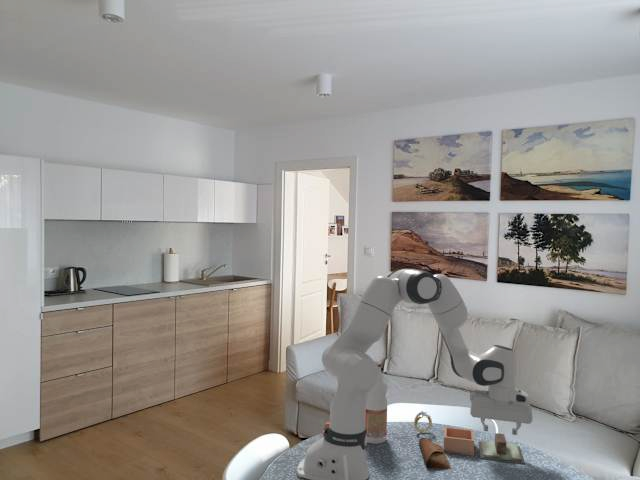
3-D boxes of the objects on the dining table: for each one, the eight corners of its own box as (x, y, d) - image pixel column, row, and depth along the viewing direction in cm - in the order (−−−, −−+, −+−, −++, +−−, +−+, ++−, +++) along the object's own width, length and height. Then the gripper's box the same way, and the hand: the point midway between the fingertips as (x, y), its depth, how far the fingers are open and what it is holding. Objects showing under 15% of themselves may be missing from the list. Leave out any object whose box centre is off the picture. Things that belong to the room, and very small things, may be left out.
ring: (415, 434, 186) (416, 413, 186) (412, 431, 190) (412, 410, 190) (433, 433, 188) (433, 412, 188) (429, 430, 191) (430, 409, 191)
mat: (480, 458, 167) (480, 457, 167) (478, 442, 181) (478, 441, 181) (525, 464, 164) (525, 463, 164) (519, 447, 177) (519, 446, 177)
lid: (483, 456, 168) (483, 442, 168) (481, 442, 179) (481, 429, 179) (521, 461, 165) (521, 447, 165) (516, 447, 176) (516, 433, 176)
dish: (443, 451, 172) (444, 437, 172) (444, 440, 182) (444, 426, 182) (473, 455, 170) (474, 440, 170) (472, 443, 179) (473, 430, 179)
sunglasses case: (453, 469, 158) (442, 451, 159) (433, 480, 159) (423, 461, 159) (442, 446, 176) (433, 429, 177) (425, 455, 177) (415, 439, 177)
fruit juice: (378, 446, 175) (380, 367, 175) (355, 440, 180) (357, 363, 180) (390, 438, 183) (392, 362, 183) (368, 432, 188) (370, 358, 188)
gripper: (470, 391, 172) (469, 431, 171) (534, 398, 166) (532, 440, 166) (469, 386, 178) (468, 425, 178) (531, 393, 172) (529, 433, 172)
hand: (500, 432), depth 172 cm, fingers open, 8 cm apart
